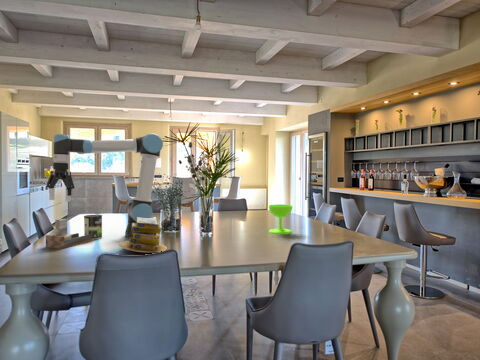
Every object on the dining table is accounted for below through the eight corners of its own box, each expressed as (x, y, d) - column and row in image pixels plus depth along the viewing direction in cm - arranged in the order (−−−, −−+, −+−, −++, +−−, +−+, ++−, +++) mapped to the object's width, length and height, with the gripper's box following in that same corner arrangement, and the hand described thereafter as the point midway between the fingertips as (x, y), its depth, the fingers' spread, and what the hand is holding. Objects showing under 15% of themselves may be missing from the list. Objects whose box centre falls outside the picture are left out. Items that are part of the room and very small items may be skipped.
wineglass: (294, 234, 224) (294, 207, 223) (269, 234, 224) (269, 206, 224) (290, 230, 240) (290, 204, 239) (267, 229, 240) (267, 204, 239)
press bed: (92, 241, 202) (92, 230, 202) (61, 248, 183) (61, 236, 183) (76, 239, 207) (76, 228, 206) (45, 247, 187) (45, 235, 187)
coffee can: (105, 237, 215) (105, 214, 215) (95, 240, 205) (95, 216, 204) (91, 236, 217) (90, 214, 217) (80, 239, 207) (80, 216, 206)
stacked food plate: (170, 244, 195) (170, 215, 194) (162, 255, 170) (162, 221, 169) (126, 244, 194) (126, 215, 193) (112, 255, 169) (111, 222, 168)
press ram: (72, 241, 192) (72, 218, 191) (62, 244, 185) (61, 220, 185) (62, 240, 195) (62, 218, 194) (51, 243, 188) (51, 219, 188)
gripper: (40, 161, 191) (38, 199, 191) (70, 162, 180) (68, 202, 180) (52, 162, 197) (51, 199, 198) (82, 163, 186) (81, 202, 187)
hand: (59, 200), depth 189 cm, fingers open, 13 cm apart
